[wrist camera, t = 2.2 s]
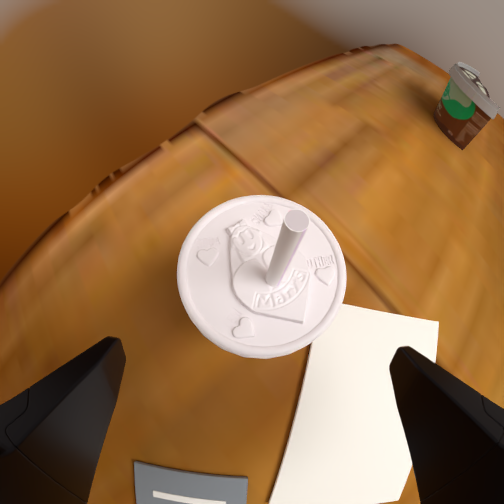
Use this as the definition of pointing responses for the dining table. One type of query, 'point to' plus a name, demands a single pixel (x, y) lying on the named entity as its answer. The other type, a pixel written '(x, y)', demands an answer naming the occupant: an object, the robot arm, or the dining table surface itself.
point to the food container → (464, 106)
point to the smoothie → (261, 276)
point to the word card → (186, 486)
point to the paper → (351, 413)
